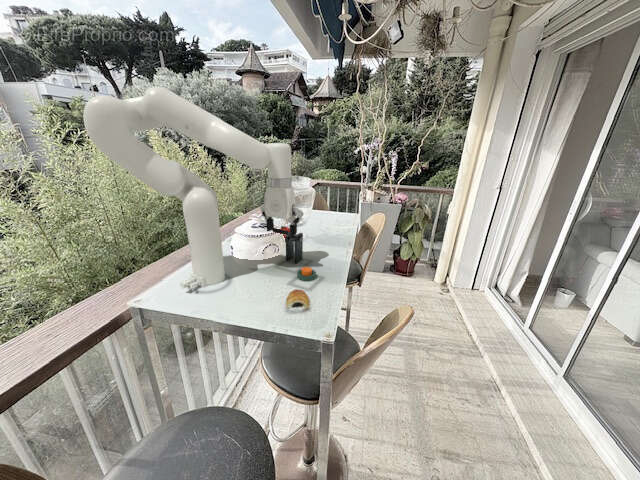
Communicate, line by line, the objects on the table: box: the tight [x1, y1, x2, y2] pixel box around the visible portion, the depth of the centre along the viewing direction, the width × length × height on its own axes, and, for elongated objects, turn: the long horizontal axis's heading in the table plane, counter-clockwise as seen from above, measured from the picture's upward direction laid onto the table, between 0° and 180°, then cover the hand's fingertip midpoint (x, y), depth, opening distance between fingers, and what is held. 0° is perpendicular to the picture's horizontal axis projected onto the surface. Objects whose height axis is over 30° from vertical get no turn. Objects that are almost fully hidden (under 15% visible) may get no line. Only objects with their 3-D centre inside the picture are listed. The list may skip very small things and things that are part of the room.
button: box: [301, 266, 313, 276], centre depth 92 cm, size 4×4×2 cm
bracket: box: [285, 232, 304, 265], centre depth 103 cm, size 12×9×13 cm
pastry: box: [286, 288, 310, 311], centre depth 79 cm, size 9×7×4 cm
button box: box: [296, 268, 317, 283], centre depth 92 cm, size 10×8×3 cm
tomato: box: [280, 225, 290, 242], centre depth 126 cm, size 9×9×8 cm
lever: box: [272, 227, 297, 241], centre depth 97 cm, size 12×6×2 cm
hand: (281, 232), depth 93 cm, fingers open, 9 cm apart
